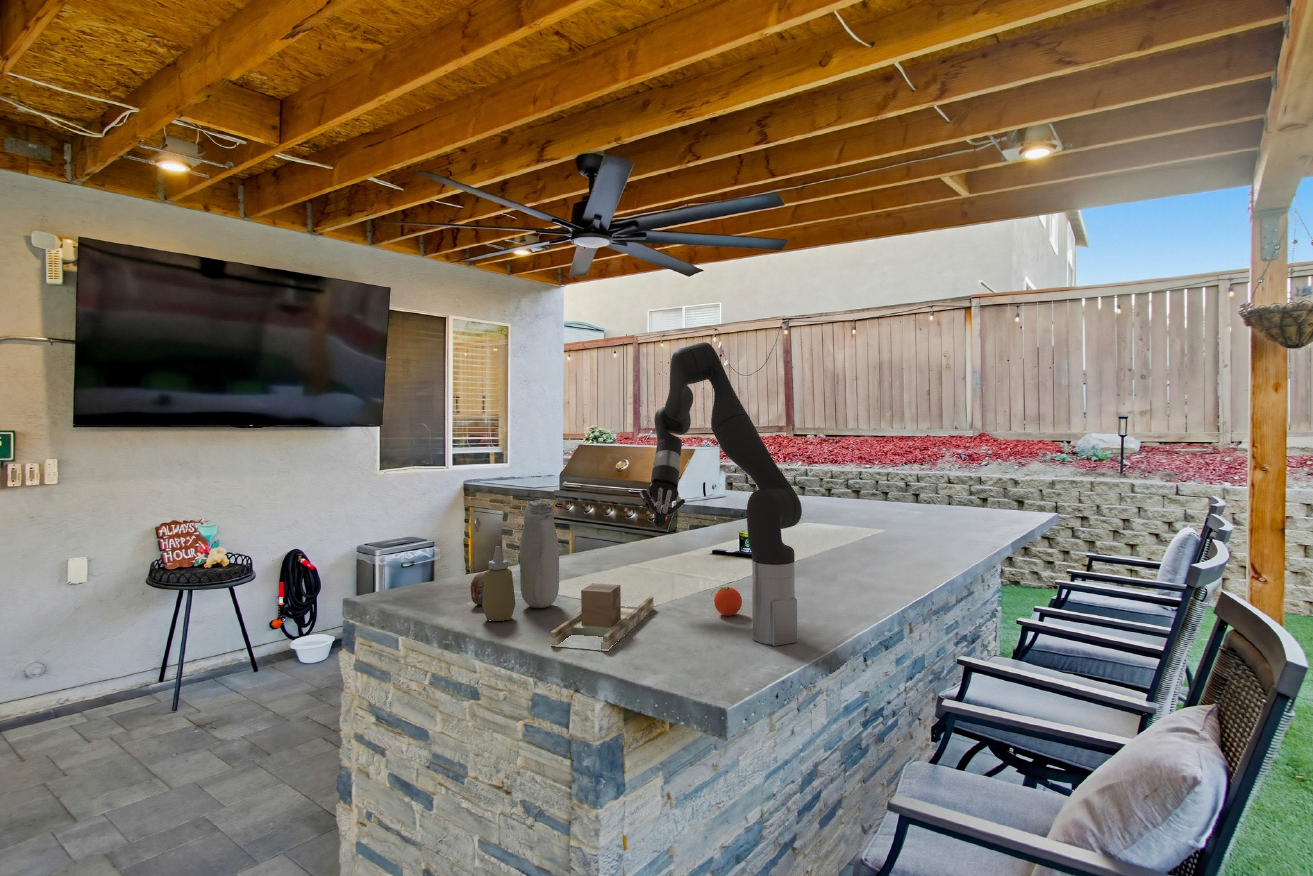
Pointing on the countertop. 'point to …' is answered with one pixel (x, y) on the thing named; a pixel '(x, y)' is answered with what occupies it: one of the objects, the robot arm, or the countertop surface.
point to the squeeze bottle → (498, 589)
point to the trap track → (610, 635)
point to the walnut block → (600, 605)
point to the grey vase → (539, 556)
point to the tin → (477, 588)
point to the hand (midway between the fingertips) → (658, 527)
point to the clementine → (727, 601)
